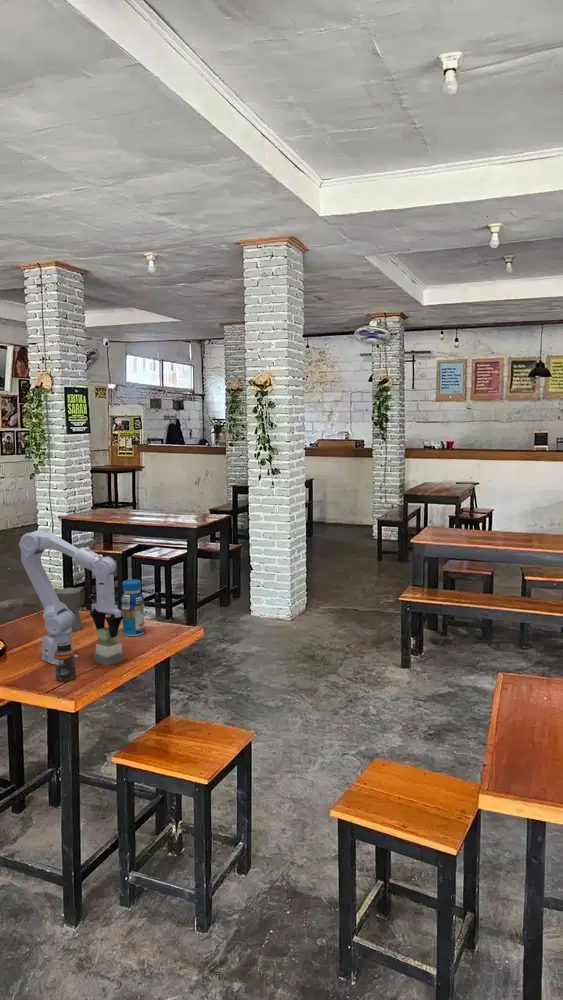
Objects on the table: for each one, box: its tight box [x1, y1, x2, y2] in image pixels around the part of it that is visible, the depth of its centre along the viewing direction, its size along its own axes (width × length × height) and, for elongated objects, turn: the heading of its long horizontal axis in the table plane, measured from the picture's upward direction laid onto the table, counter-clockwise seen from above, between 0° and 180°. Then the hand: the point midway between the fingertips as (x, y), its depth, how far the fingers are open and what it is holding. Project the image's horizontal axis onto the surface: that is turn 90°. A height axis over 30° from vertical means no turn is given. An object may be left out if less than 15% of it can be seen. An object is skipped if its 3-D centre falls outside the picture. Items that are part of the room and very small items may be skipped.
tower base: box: [93, 651, 125, 667], centre depth 234 cm, size 7×7×3 cm
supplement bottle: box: [54, 642, 77, 682], centre depth 218 cm, size 6×6×11 cm
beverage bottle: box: [120, 579, 146, 637], centre depth 262 cm, size 8×8×20 cm
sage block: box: [96, 626, 120, 647], centre depth 234 cm, size 5×5×5 cm
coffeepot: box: [55, 582, 91, 633], centre depth 270 cm, size 15×9×18 cm, turn 133°
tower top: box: [95, 642, 123, 657], centre depth 234 cm, size 6×6×3 cm
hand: (107, 634), depth 233 cm, fingers open, 7 cm apart
